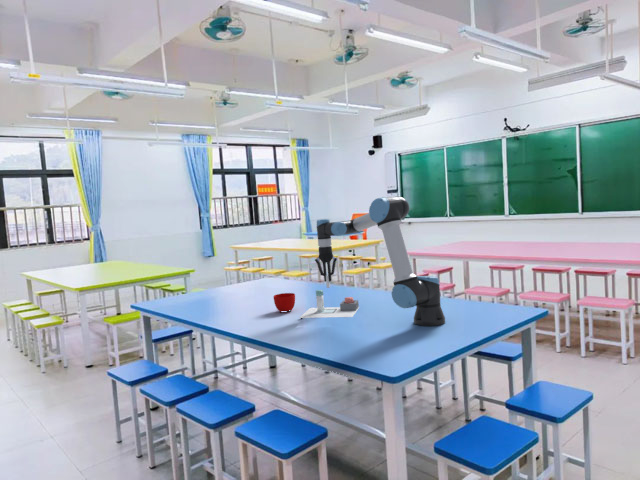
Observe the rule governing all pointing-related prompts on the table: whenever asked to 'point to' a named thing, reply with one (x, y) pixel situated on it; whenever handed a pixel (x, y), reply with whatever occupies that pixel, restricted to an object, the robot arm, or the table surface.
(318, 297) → the marker
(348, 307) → the button housing
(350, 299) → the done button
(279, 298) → the ceramic cup
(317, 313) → the sheet
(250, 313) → the table surface
